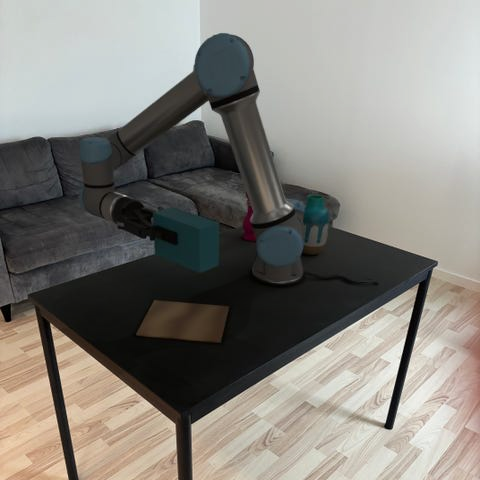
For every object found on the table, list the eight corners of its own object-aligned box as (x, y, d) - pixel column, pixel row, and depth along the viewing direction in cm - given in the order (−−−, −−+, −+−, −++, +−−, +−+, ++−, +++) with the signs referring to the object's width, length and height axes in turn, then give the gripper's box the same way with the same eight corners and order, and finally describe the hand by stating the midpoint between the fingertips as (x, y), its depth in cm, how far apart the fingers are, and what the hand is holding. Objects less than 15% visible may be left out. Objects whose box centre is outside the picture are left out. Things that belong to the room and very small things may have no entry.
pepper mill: (260, 242, 167) (264, 185, 157) (240, 240, 168) (242, 183, 158) (263, 235, 173) (267, 179, 163) (243, 233, 174) (246, 177, 164)
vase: (290, 246, 165) (296, 191, 155) (320, 247, 166) (328, 191, 156) (296, 259, 156) (302, 200, 146) (328, 259, 156) (336, 201, 147)
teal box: (218, 265, 107) (219, 222, 102) (199, 273, 103) (199, 229, 98) (166, 244, 117) (164, 203, 112) (147, 250, 113) (144, 209, 108)
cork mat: (229, 308, 125) (229, 306, 125) (220, 343, 111) (220, 341, 111) (154, 301, 127) (154, 300, 126) (136, 335, 112) (135, 333, 112)
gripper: (154, 217, 127) (217, 240, 114) (92, 234, 115) (155, 262, 102) (153, 189, 123) (217, 210, 110) (88, 203, 111) (153, 229, 98)
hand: (187, 235), depth 106 cm, fingers closed on teal box, 6 cm apart
